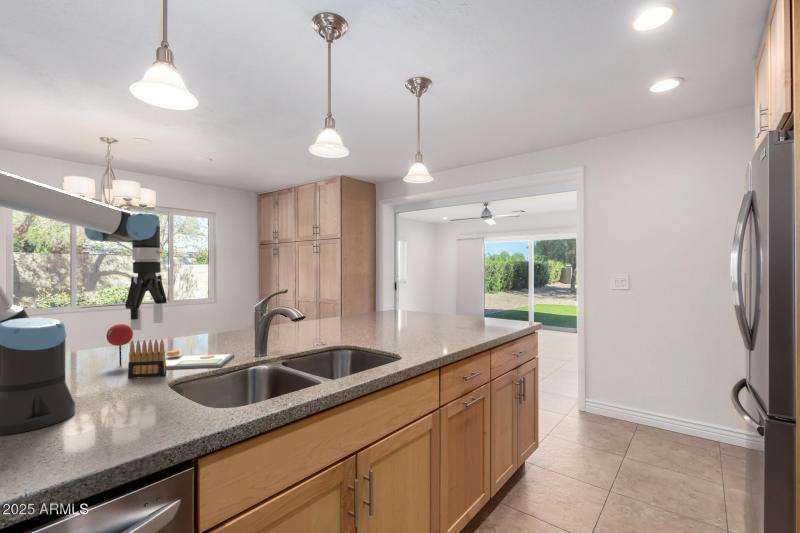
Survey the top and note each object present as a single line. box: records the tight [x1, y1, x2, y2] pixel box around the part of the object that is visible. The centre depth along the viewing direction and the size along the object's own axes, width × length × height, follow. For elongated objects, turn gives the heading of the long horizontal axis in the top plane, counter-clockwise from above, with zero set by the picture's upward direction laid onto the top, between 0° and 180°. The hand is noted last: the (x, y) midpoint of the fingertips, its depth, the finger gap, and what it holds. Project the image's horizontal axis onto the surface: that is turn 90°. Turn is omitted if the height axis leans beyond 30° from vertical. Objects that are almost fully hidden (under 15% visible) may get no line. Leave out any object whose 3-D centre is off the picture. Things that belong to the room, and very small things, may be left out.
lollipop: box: [106, 323, 134, 366], centre depth 135 cm, size 8×8×15 cm
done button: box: [166, 349, 180, 356], centre depth 142 cm, size 4×4×1 cm
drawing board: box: [165, 353, 235, 370], centre depth 138 cm, size 16×25×1 cm, turn 98°
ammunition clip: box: [127, 339, 167, 379], centre depth 121 cm, size 11×2×12 cm, turn 100°
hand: (148, 326), depth 122 cm, fingers open, 13 cm apart
